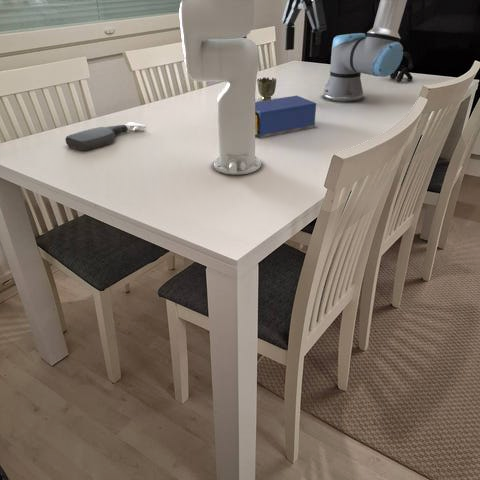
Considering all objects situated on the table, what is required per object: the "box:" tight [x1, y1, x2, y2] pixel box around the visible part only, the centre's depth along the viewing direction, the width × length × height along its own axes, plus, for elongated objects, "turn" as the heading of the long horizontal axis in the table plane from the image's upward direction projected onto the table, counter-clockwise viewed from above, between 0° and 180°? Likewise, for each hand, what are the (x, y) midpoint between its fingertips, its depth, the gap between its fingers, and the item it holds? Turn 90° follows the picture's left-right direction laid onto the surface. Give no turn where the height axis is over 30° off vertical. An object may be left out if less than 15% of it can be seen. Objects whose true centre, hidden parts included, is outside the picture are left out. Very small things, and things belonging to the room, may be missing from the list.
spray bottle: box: [64, 121, 147, 152], centre depth 139 cm, size 3×11×24 cm
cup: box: [256, 77, 277, 101], centre depth 173 cm, size 8×7×8 cm
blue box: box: [255, 95, 317, 138], centre depth 144 cm, size 20×11×8 cm, turn 117°
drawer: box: [255, 113, 260, 136], centre depth 142 cm, size 24×10×6 cm, turn 117°
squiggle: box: [389, 51, 414, 83], centre depth 198 cm, size 11×10×15 cm
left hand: (234, 52), depth 137 cm, fingers open, 9 cm apart
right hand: (301, 53), depth 136 cm, fingers open, 13 cm apart
